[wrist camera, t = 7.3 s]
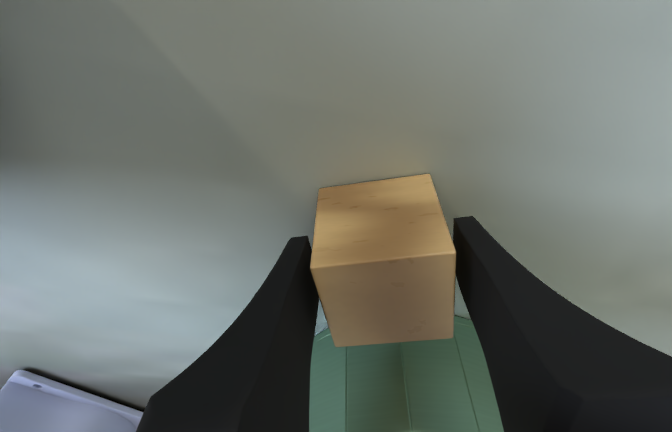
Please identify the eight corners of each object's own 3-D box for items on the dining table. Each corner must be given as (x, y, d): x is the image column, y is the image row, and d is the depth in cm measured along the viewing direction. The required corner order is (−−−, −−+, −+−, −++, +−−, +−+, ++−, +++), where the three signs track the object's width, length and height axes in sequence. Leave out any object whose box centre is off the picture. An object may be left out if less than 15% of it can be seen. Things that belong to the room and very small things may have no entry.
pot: (233, 299, 17) (196, 420, 13) (607, 321, 18) (690, 446, 13) (253, 417, 25) (234, 517, 21) (513, 431, 26) (547, 533, 21)
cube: (337, 264, 16) (334, 348, 13) (318, 187, 13) (309, 267, 10) (432, 254, 15) (453, 339, 12) (430, 172, 13) (456, 251, 10)
